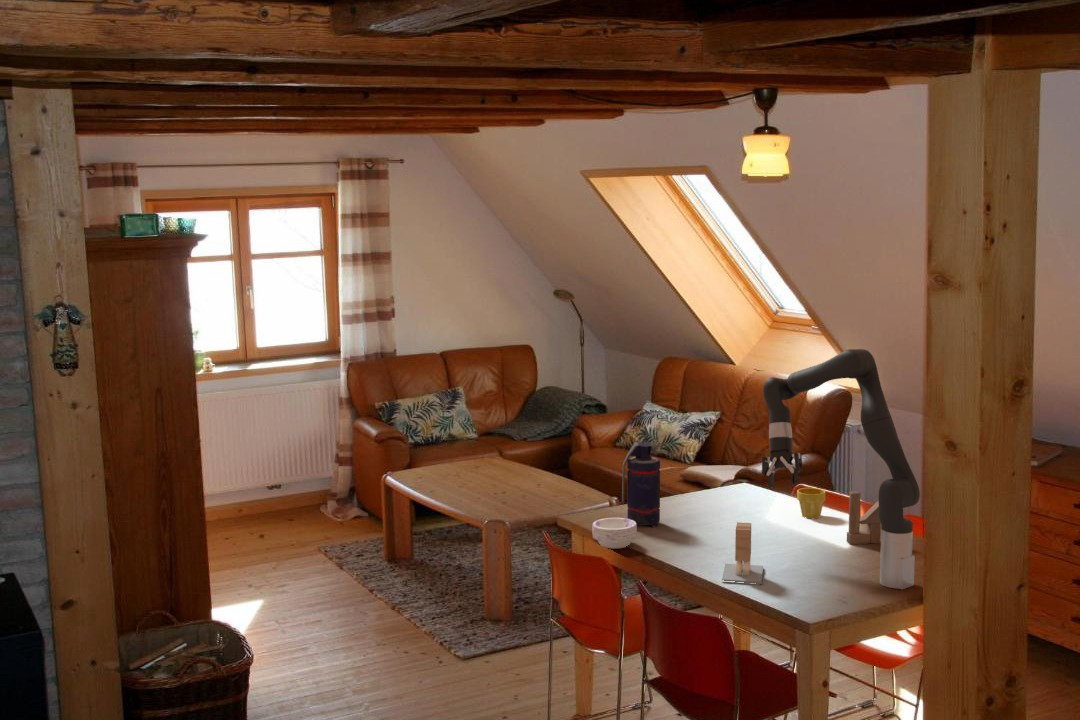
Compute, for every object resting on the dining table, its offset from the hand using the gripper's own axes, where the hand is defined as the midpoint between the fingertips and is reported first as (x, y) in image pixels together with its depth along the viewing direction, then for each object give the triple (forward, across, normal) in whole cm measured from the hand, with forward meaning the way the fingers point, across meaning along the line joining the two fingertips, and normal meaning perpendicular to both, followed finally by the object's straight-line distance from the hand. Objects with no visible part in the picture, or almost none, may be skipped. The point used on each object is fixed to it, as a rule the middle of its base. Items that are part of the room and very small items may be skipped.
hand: (782, 486), depth 379 cm
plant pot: (+5, -24, +54) cm, 60 cm away
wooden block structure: (+17, +5, +39) cm, 43 cm away
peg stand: (+29, -6, -16) cm, 34 cm away
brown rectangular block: (+23, -4, -18) cm, 30 cm away
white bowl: (+18, -55, -21) cm, 62 cm away
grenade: (+8, -64, +4) cm, 65 cm away
